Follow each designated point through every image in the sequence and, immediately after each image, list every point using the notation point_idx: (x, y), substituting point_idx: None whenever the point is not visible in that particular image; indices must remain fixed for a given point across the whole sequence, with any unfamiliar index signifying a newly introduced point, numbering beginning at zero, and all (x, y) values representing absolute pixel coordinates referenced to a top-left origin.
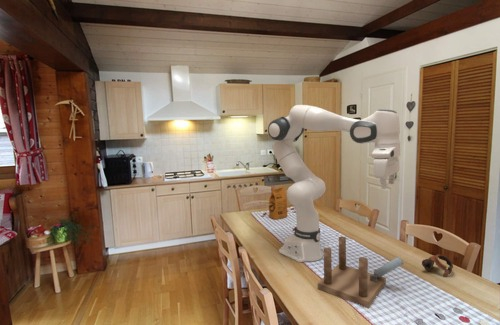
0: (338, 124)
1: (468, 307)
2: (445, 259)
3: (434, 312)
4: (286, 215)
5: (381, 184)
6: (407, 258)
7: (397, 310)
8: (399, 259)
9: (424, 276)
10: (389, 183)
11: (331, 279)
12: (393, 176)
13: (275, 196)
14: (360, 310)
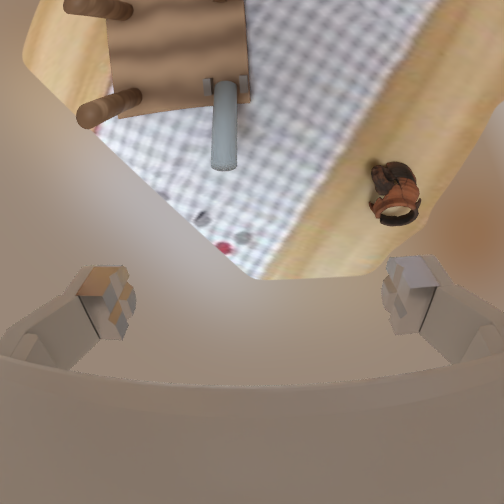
0: None
1: (266, 250)
2: (411, 214)
3: (206, 210)
4: None
5: (65, 293)
6: (425, 118)
7: (160, 158)
8: (225, 164)
9: (347, 167)
10: (388, 266)
11: (121, 19)
12: (454, 353)
13: None
14: None
